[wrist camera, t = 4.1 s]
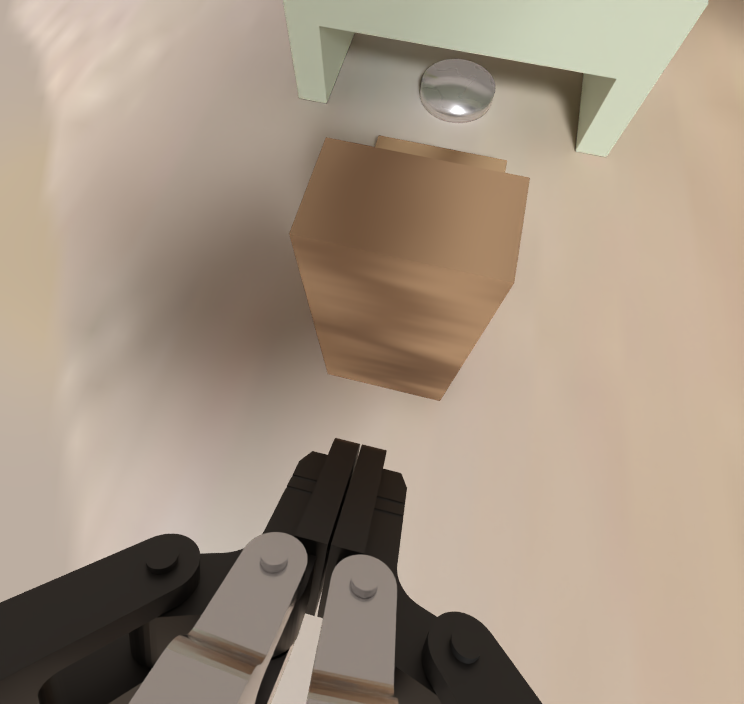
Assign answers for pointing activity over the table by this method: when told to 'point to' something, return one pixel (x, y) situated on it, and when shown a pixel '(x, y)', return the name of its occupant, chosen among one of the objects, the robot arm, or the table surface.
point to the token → (457, 90)
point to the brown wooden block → (406, 258)
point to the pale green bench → (511, 44)
